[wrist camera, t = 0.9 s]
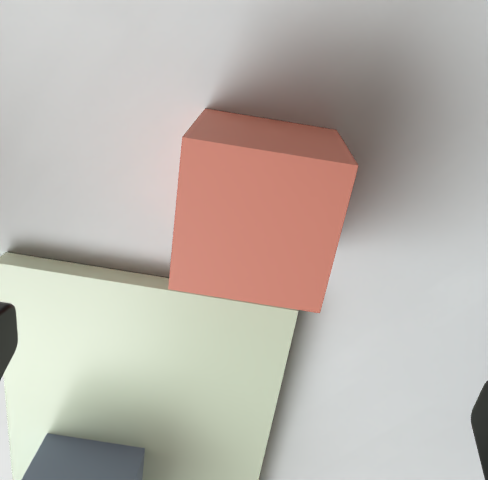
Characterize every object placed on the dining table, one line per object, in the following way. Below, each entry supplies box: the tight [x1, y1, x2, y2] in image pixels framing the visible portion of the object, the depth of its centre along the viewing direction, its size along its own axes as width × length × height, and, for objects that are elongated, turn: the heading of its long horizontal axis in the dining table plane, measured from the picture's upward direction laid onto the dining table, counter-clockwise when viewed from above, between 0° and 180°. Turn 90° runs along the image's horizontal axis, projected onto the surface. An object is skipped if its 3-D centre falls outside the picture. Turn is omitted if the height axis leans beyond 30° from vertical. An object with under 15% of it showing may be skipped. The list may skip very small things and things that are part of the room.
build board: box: [0, 252, 299, 480], centre depth 24 cm, size 13×16×1 cm
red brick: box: [168, 109, 358, 313], centre depth 16 cm, size 5×5×5 cm
